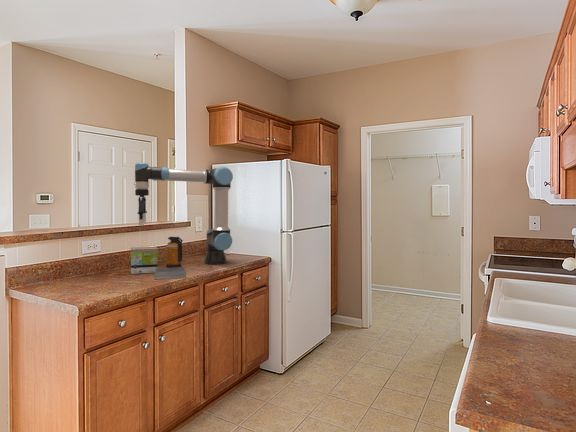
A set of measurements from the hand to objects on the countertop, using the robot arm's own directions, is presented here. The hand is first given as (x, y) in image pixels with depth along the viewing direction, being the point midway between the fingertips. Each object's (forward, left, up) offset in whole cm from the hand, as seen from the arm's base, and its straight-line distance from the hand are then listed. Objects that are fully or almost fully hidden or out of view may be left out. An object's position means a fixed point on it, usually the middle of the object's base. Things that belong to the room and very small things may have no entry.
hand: (142, 224), depth 237 cm
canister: (-19, -10, -29) cm, 36 cm away
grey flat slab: (-16, +18, -29) cm, 37 cm away
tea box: (-1, +2, -29) cm, 29 cm away
